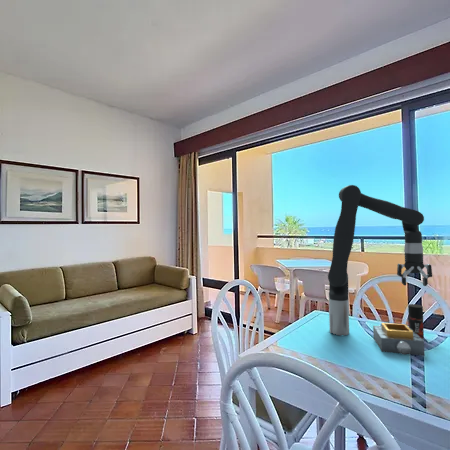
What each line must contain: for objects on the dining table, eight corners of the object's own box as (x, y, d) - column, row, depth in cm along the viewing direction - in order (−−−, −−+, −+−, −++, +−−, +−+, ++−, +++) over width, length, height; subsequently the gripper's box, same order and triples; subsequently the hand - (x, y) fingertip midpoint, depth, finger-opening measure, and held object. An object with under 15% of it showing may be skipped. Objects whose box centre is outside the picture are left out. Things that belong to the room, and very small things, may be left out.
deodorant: (419, 334, 141) (418, 304, 142) (426, 339, 135) (425, 307, 136) (406, 334, 142) (405, 304, 142) (413, 339, 136) (412, 307, 136)
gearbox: (382, 353, 121) (382, 333, 121) (373, 337, 139) (373, 320, 139) (426, 357, 117) (425, 336, 117) (411, 340, 134) (410, 322, 134)
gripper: (399, 252, 138) (400, 286, 137) (433, 252, 134) (435, 287, 133) (394, 251, 145) (395, 283, 145) (427, 251, 141) (428, 284, 141)
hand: (414, 285), depth 139 cm, fingers open, 8 cm apart
